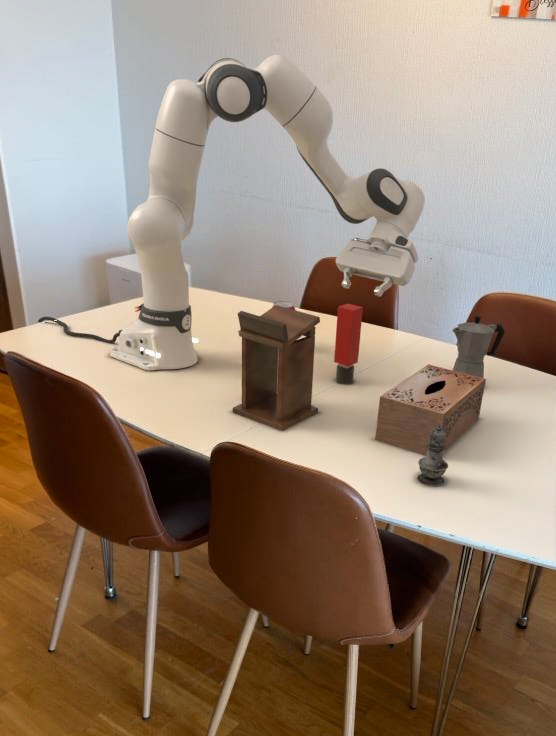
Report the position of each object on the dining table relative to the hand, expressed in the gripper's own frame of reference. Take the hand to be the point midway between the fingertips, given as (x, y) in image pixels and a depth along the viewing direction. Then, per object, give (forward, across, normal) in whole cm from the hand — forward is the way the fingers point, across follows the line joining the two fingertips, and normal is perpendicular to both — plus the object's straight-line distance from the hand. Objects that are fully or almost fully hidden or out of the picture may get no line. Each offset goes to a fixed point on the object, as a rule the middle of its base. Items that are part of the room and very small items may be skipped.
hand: (360, 290), depth 174 cm
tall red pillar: (+9, 0, +10) cm, 14 cm away
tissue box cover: (+26, +30, +6) cm, 40 cm away
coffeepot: (+2, +24, +29) cm, 38 cm away
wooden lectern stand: (+38, 0, -6) cm, 38 cm away
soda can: (+12, -28, +20) cm, 36 cm away
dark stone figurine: (+41, +42, -9) cm, 60 cm away
